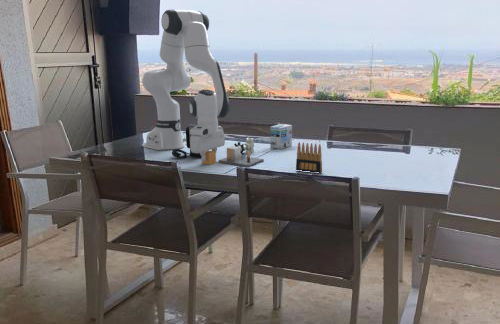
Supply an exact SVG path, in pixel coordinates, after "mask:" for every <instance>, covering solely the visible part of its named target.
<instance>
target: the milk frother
mask: <svg viewBox="0 0 500 324" xmlns="http://www.w3.org/2000/svg"><path fill="white" fill-rule="evenodd" d="M196 125H197V122H196V123H190V124H188V126H187V127H186V128H185V141H186V142H185V143H186V148H187V149H189V152H187V151H185V150H183V149H181V148H178V149H172V151H171V155H172V156H173V157H175V158H176V159H185V158H187V157H188V155H189V157H191V158H197V159H198V158H200V159H202V156H201V155H200V153H192V152H191V149H190V137H191V136H192V135H191V134H190V130H191V129H192V128H193V127H195V126H196ZM182 154H183V155H182Z"/></svg>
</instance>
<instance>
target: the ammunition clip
mask: <svg viewBox="0 0 500 324" xmlns="http://www.w3.org/2000/svg"><path fill="white" fill-rule="evenodd" d="M309 145H310V146H309ZM296 151H297V152H296V159H295V160H296V162H295V171H296V170H302V171H310V172H319V173H321V172H322V173H323V162H322V160H323V159H322V156H323V155H322V146H321V144H320V143H319V145H318V146H317V143H315V144H314V146H313V143H310V144H309V142H306V146H305V141H304V142H302V144H301V142H298V143H297V150H296ZM322 173H321V174H322Z"/></svg>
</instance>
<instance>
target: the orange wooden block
mask: <svg viewBox="0 0 500 324" xmlns="http://www.w3.org/2000/svg"><path fill="white" fill-rule="evenodd" d="M216 154H217V151H212V150H208V151H206V153H205V155H206V157H207V161H202V160H201V164H202V165H209V166H210V165H214V164H216V163H217V155H216Z"/></svg>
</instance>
